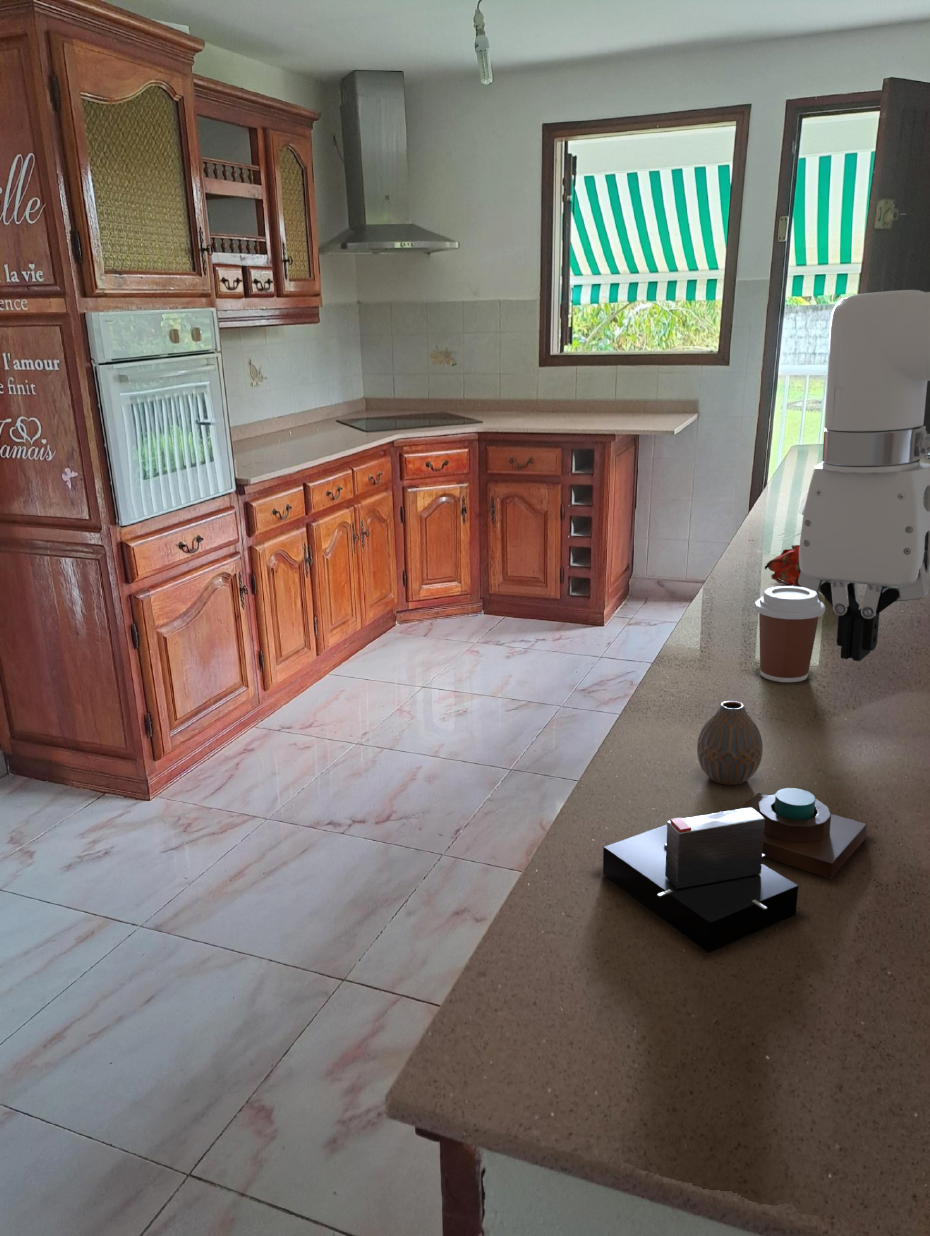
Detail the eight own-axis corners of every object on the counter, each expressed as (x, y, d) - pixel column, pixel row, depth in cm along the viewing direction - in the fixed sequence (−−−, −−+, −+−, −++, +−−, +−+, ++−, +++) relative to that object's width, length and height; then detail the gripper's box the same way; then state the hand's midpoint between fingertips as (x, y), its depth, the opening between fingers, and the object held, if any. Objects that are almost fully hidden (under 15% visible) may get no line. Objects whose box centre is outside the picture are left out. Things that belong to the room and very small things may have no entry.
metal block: (747, 861, 86) (751, 804, 84) (761, 874, 84) (765, 816, 82) (664, 876, 84) (667, 818, 82) (676, 889, 82) (679, 830, 80)
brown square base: (865, 839, 94) (869, 807, 92) (830, 879, 88) (834, 846, 86) (757, 806, 101) (759, 777, 100) (717, 842, 95) (719, 810, 93)
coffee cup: (786, 659, 141) (792, 580, 137) (832, 678, 133) (841, 595, 129) (736, 670, 138) (741, 589, 134) (780, 690, 130) (788, 605, 126)
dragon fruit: (837, 598, 173) (767, 603, 178) (837, 562, 177) (769, 568, 183) (833, 568, 167) (761, 574, 172) (833, 531, 171) (763, 538, 177)
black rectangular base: (815, 917, 82) (818, 886, 81) (707, 965, 77) (709, 932, 76) (692, 841, 95) (694, 813, 94) (593, 877, 90) (593, 848, 89)
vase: (721, 758, 112) (726, 688, 109) (773, 778, 107) (779, 705, 103) (682, 776, 108) (686, 704, 105) (734, 797, 103) (739, 722, 100)
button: (819, 810, 93) (821, 794, 92) (804, 825, 91) (806, 809, 90) (783, 800, 95) (784, 784, 95) (768, 814, 93) (769, 798, 92)
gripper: (982, 444, 78) (958, 656, 84) (800, 442, 88) (790, 632, 94) (956, 457, 73) (932, 683, 79) (765, 454, 83) (757, 654, 89)
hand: (855, 655), depth 86 cm, fingers closed
